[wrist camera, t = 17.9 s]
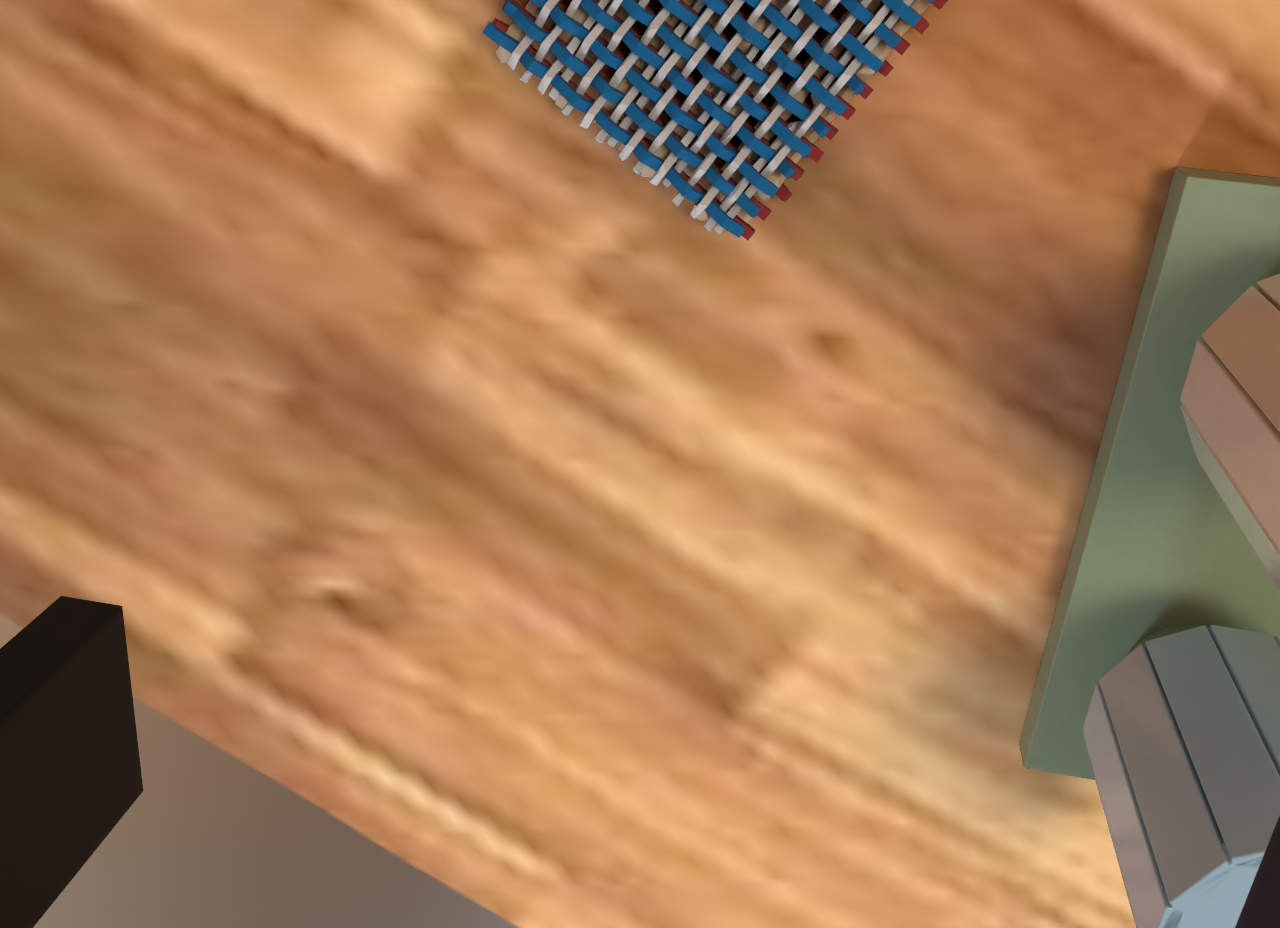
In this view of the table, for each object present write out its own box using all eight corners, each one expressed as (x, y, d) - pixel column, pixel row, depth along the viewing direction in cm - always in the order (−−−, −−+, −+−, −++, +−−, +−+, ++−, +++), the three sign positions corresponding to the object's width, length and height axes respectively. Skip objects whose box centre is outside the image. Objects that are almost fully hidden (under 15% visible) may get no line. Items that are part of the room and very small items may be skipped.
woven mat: (742, 249, 40) (737, 266, 39) (485, 41, 39) (467, 48, 37) (965, -18, 36) (971, -14, 34) (685, -264, 34) (676, -273, 33)
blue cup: (1043, 858, 43) (1093, 1107, 34) (1117, 609, 39) (1196, 820, 30) (1265, 897, 43) (1375, 1162, 34) (1367, 647, 38) (1525, 876, 29)
